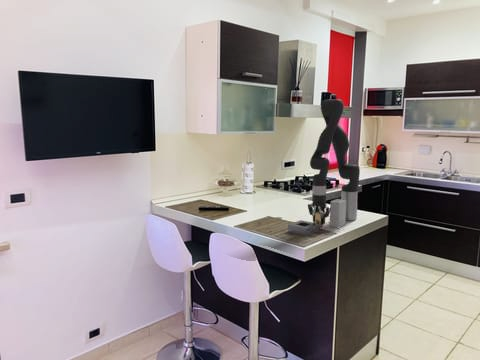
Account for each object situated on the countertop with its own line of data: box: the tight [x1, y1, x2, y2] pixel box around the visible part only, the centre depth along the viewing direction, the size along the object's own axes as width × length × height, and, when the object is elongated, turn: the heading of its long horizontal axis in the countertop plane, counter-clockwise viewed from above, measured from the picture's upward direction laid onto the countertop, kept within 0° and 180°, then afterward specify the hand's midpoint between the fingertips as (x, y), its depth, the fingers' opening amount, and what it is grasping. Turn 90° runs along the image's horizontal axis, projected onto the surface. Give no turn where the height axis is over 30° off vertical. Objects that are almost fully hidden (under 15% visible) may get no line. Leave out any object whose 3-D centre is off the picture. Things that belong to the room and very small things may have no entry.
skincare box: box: [329, 198, 347, 229], centre depth 217 cm, size 8×6×15 cm
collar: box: [287, 220, 320, 237], centre depth 208 cm, size 12×12×4 cm
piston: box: [315, 211, 324, 229], centre depth 212 cm, size 4×4×8 cm
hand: (318, 223), depth 213 cm, fingers closed on piston, 4 cm apart
